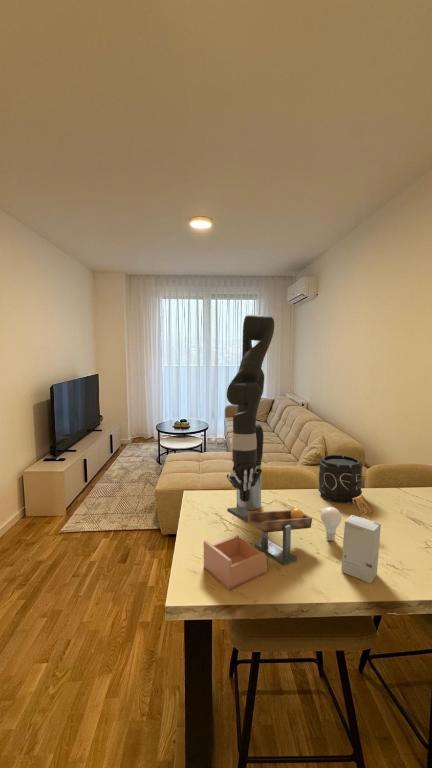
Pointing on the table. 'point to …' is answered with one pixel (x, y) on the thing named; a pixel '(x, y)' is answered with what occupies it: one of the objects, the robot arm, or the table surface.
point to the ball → (296, 513)
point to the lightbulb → (330, 521)
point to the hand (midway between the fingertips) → (244, 500)
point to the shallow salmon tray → (234, 561)
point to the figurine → (360, 503)
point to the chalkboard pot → (340, 478)
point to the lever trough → (271, 519)
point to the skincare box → (361, 548)
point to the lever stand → (278, 547)
